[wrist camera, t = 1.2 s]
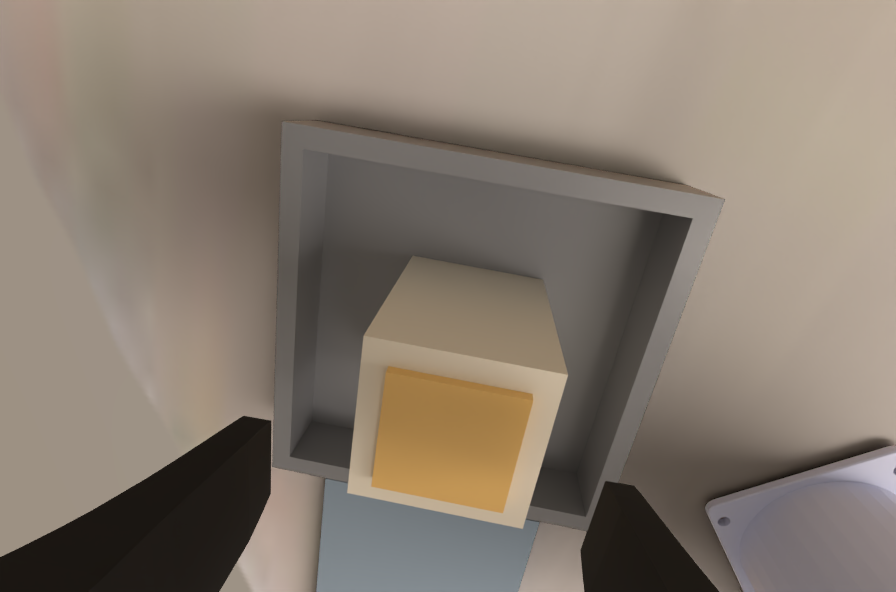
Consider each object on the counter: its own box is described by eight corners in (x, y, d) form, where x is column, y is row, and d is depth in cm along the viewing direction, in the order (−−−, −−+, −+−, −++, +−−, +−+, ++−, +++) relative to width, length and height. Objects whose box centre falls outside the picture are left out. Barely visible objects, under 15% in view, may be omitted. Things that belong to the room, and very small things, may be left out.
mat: (537, 505, 22) (539, 522, 21) (496, 641, 26) (496, 661, 25) (332, 463, 23) (325, 478, 22) (320, 604, 26) (313, 621, 26)
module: (542, 279, 18) (569, 381, 11) (514, 391, 20) (523, 537, 13) (412, 255, 18) (359, 341, 11) (397, 368, 20) (343, 501, 13)
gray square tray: (687, 185, 17) (725, 199, 14) (585, 479, 22) (598, 533, 19) (317, 120, 17) (281, 121, 14) (301, 422, 22) (272, 466, 19)
